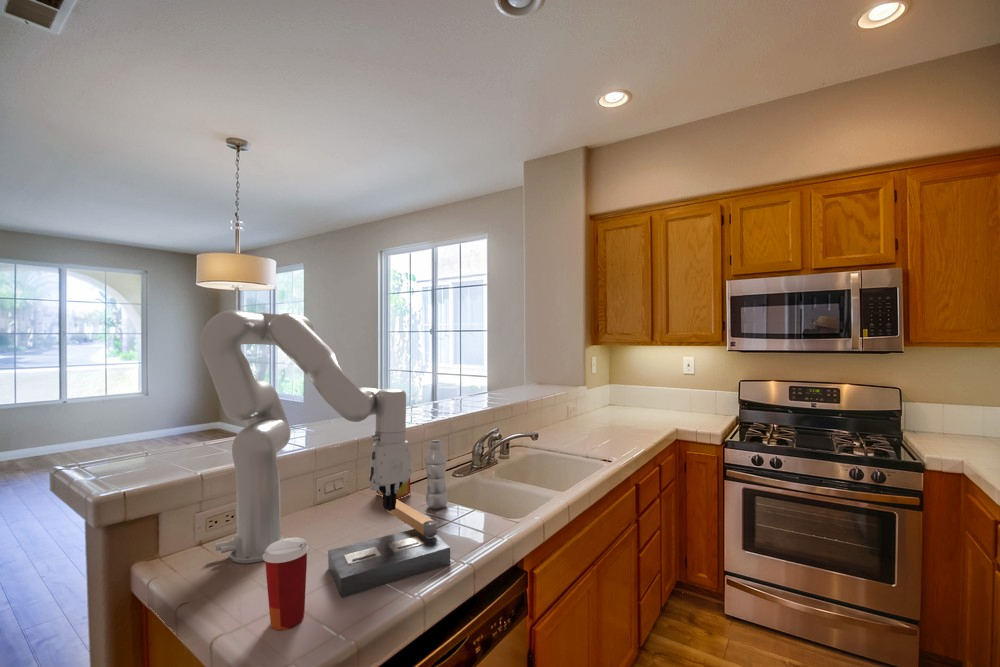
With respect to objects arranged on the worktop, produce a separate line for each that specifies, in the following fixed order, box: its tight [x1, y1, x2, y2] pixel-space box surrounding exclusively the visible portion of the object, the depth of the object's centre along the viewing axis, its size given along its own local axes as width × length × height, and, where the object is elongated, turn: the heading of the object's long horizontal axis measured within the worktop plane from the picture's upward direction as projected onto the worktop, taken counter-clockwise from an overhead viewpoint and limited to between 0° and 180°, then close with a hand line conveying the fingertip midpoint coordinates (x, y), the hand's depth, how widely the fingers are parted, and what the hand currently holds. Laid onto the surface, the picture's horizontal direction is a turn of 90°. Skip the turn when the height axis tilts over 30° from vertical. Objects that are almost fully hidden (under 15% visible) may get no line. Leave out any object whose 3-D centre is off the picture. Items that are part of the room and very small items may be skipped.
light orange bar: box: [386, 499, 438, 537], centre depth 114 cm, size 22×3×2 cm, turn 40°
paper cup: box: [263, 537, 310, 632], centre depth 83 cm, size 8×8×14 cm
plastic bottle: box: [424, 440, 449, 510], centre depth 137 cm, size 6×7×20 cm
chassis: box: [327, 528, 451, 599], centre depth 102 cm, size 24×14×5 cm, turn 121°
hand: (389, 508), depth 114 cm, fingers closed
